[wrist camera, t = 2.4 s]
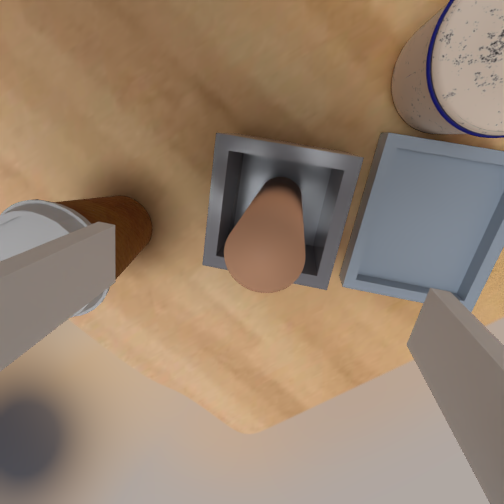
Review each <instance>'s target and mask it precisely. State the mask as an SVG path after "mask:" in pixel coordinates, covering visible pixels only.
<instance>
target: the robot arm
mask: <svg viewBox="0 0 504 504" xmlns="http://www.w3.org/2000/svg"><path fill="white" fill-rule="evenodd" d="M115 282H116V281H115V225H113V224H108V223H103V222H96V223H94V224H91V225H89V226H86V227H84V228H81V229H79V230H76V231H74V232H71V233H69V234H67V235H64V236H62V237H59V238H57V239H54V240H52V241H49V242H47V243H44V244H42V245H39V246H37V247H35V248H32V249H30V250H27V251H25V252H22V253H20V254H17V255H15V256H12V257H10V258H7V259H5V260H3V261H0V371H1V370H3V369H4V368H5V367H7V366H8V365H9V364H11V363H12V362H13V361H14V360H16V359H17V358H18V357H19V356H21V355H22V354H23V353H25V352H26V351H27V350H29V349H30V348H31V347H32V346H34V345H35V344H36V343H38V342H39V341H40V340H41V339H43V338H44V337H45V336H47V335H48V334H49V333H50V332H52V331H53V330H54V329H56V328H57V327H58V326H59V325H61V324H62V323H63V322H65V321H66V320H67V319H69V318H70V317H71V316H72V315H74V314H75V313H76V312H78V311H79V310H80V309H82V308H83V307H84V306H85V305H87V304H88V303H89V302H91V301H92V300H93V299H94V298H96V297H97V296H98V295H100V294H101V293H102V292H103V291H105V290H106V289H107V288H109V287H110V286H111V285H112V284H114V283H115ZM407 346H408V348H409V350H410V352H411V354H412V356H413V358H414V360H415V362H416V363H417V365H418V367H419V369H420V371H421V373H422V375H423V377H424V379H425V381H426V383H427V384H428V386H429V388H430V390H431V392H432V394H433V396H434V398H435V399H436V401H437V403H438V405H439V407H440V409H441V411H442V413H443V415H444V417H445V419H446V421H447V423H448V424H449V426H450V428H451V430H452V432H453V434H454V436H455V438H456V439H457V441H458V443H459V445H460V447H461V449H462V451H463V453H464V455H465V457H466V459H467V461H468V462H469V464H470V466H471V468H472V470H473V472H474V474H475V476H476V478H477V479H478V481H479V483H480V485H481V487H482V489H483V491H484V493H485V495H486V497H487V498H488V501H489V502H490V504H504V345H503V344H502V343H501V342H500V341H499V340H498V339H497V338H496V337H495V336H494V335H493V334H492V333H491V332H490V331H489V330H488V329H487V328H486V327H485V326H484V325H483V324H482V323H481V322H480V321H479V320H478V319H477V318H476V317H475V316H474V315H473V314H472V313H471V312H470V311H469V310H468V309H467V308H466V307H465V306H464V305H463V304H462V303H461V302H460V301H459V300H458V299H457V298H456V297H455V296H454V295H453V294H452V293H451V292H449V291H444V290H439V289H434V288H430V289H429V292H428V294H427V296H426V299H425V301H424V304H423V306H422V309H421V311H420V313H419V316H418V318H417V321H416V323H415V326H414V328H413V330H412V333H411V335H410V338H409V340H408V342H407Z"/></svg>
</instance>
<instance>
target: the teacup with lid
mask: <svg viewBox="0 0 504 504" xmlns="http://www.w3.org/2000/svg"><path fill="white" fill-rule="evenodd" d="M392 97H393V101H394V104H395V107H396V109H397V111H398V113H399V114H400V116H401V117H402V119H403V120H404V121H405V122H406V123H407V124H409V125H410V126H411V127H413V128H415V129H417V130H419V131H421V132H424V133H429V134H470V135H474V136H478V137H485V138H501V137H504V0H450V1H449V3H448V4H447V5H445V6H444V7H443V8H442V9H441V10H440V11H439V12H438V13H436V14H435V15H434V16H433V17H432V18H431V19H430V20H429V21H427V22H426V23H425V24H424V25H423V26H422V27H421V28H420V29H418V30H417V31H416V32H415V33H414V34H413V36H412V37H411V38H410V39H409V40H408V42H407V43H406V44H405V46H404V48H403V49H402V51H401V53H400V55H399V57H398V59H397V61H396V64H395V67H394V71H393V76H392Z"/></svg>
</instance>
